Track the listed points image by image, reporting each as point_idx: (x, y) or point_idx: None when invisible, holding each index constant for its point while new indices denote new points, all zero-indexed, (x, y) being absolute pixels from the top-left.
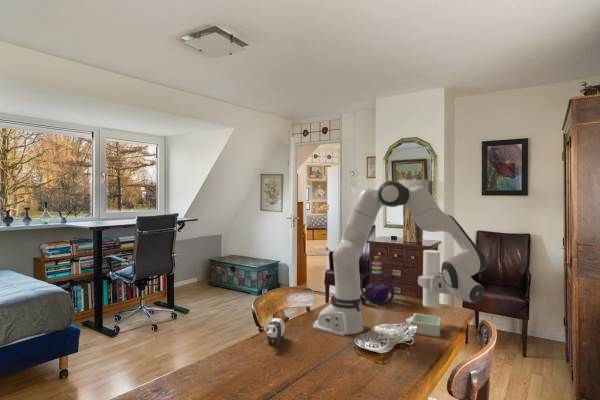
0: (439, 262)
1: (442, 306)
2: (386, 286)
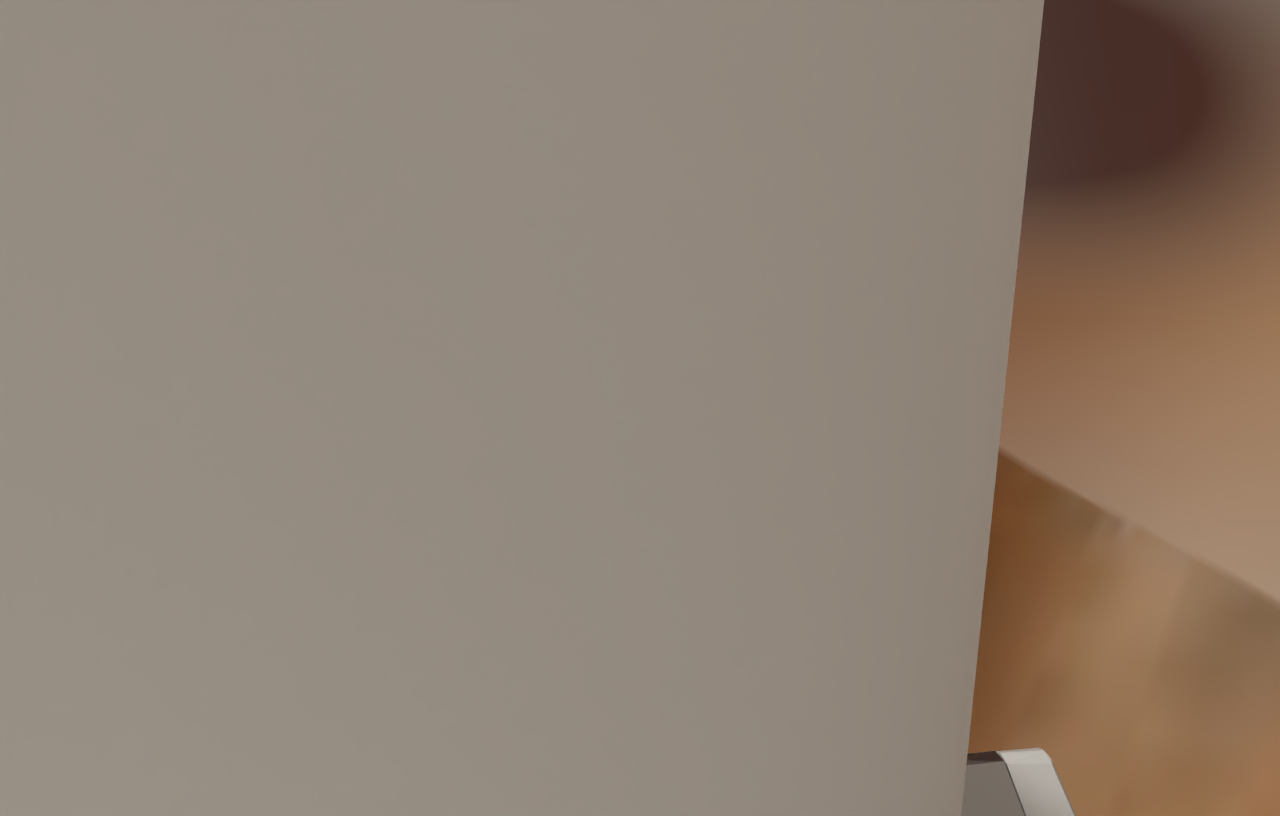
0: (833, 674)
1: (1211, 618)
2: None
